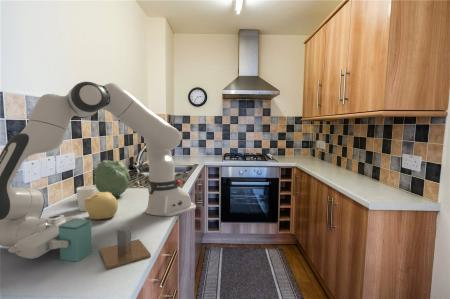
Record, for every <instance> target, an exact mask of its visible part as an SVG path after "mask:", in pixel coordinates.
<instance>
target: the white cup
mask: <svg viewBox="0 0 450 299" xmlns="http://www.w3.org/2000/svg"><path fill="white" fill-rule="evenodd" d="M95 193H97V187H96V185H83V186H78V187H76V199H77V204H78V211H80V212H87V210H86V209H85V203H84V200H85V199H86V198H88V197H90V196H92V195H94V194H95Z"/></svg>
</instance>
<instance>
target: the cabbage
mask: <svg viewBox="0 0 450 299" xmlns="http://www.w3.org/2000/svg"><path fill="white" fill-rule="evenodd" d="M92 174H94V175H93V179H94V186H96V190H98V192H109V193H112V195H113V196H114V197H115V198H116V197H119V196H121V195H122V194H123V193H124V192H126V190H127V189H128V187H129V184H130V181H131V176H130V173H129V169H128V167H127V165H126V164H125V163H124V162H123V161H122V160H121V161H120V160H116V161H115V160H110V159H109V160H106V159H105V160H104V159H103V160H101V161H100V162H99V163H98V164H97V165H96V168H93V172H92Z"/></svg>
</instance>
